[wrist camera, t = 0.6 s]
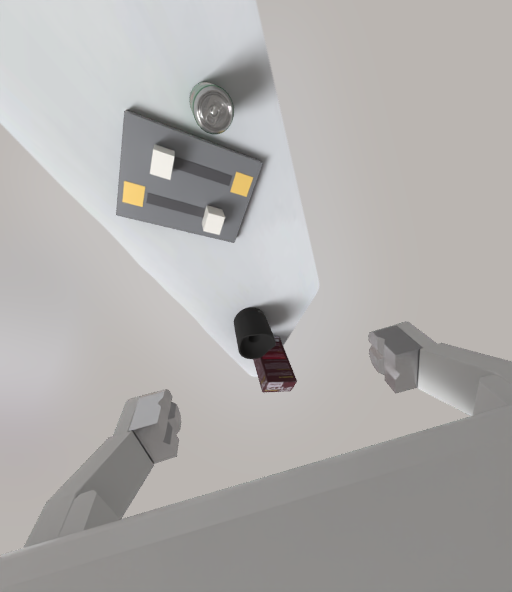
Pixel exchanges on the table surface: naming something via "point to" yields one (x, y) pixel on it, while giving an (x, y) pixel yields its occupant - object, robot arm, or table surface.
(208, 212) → the block
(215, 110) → the soda can
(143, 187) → the switch panel
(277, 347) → the supplement box
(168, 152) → the block
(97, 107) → the table surface
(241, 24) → the table surface
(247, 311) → the pen holder
